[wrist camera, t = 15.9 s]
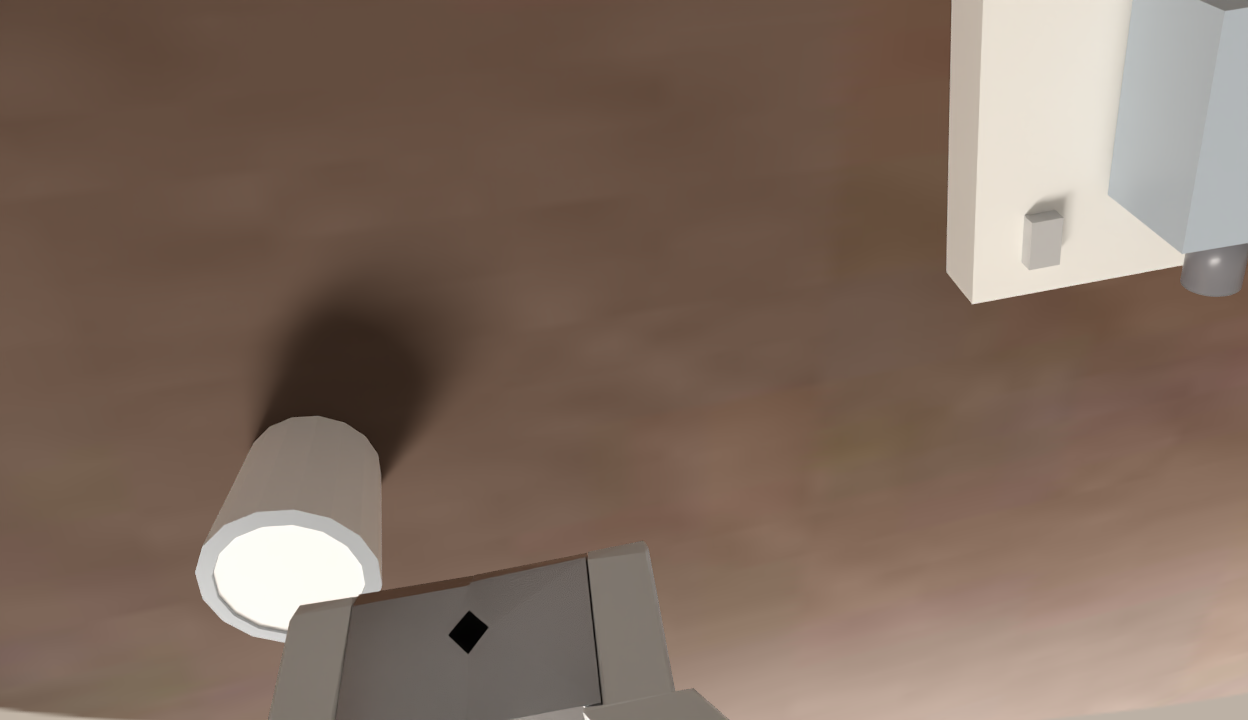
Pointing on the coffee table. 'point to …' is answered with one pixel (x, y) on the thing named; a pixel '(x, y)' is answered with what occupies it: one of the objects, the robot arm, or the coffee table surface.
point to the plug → (1187, 135)
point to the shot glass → (295, 527)
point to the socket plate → (1039, 149)
